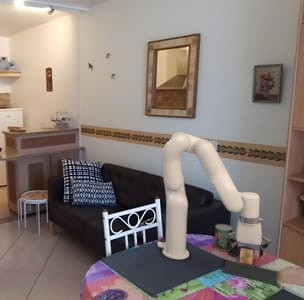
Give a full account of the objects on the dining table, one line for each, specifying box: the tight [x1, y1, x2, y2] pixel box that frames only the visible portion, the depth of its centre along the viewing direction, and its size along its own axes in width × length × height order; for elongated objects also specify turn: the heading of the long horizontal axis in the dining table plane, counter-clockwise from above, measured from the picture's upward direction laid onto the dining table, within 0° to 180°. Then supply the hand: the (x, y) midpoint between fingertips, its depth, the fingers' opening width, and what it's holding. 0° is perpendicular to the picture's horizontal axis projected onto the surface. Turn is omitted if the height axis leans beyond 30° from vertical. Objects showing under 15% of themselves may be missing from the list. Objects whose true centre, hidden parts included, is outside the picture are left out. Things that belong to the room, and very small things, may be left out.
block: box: [239, 247, 254, 266], centre depth 148 cm, size 5×5×5 cm
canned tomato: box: [214, 223, 234, 252], centre depth 162 cm, size 8×8×11 cm
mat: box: [222, 260, 278, 286], centre depth 139 cm, size 20×12×1 cm, turn 57°
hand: (248, 254), depth 148 cm, fingers open, 9 cm apart
